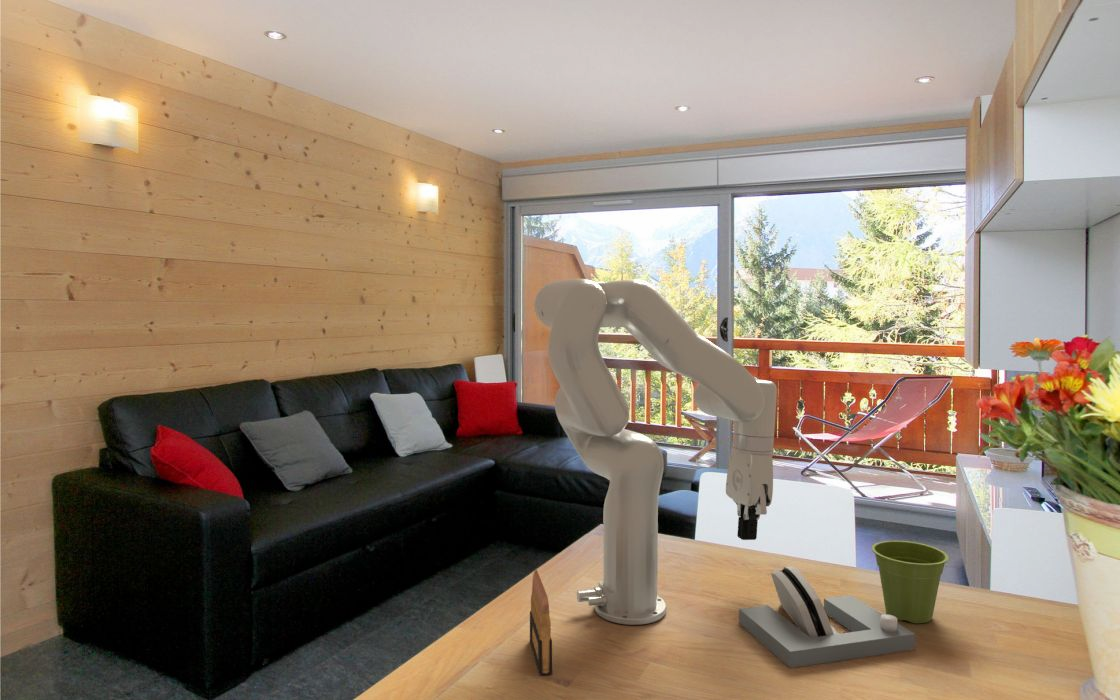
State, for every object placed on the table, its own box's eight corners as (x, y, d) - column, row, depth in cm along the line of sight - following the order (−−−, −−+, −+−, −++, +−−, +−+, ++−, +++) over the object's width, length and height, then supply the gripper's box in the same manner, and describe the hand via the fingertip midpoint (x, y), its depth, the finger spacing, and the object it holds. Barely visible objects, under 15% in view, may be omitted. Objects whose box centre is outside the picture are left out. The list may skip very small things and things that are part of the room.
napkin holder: (552, 675, 98) (552, 594, 97) (539, 676, 98) (539, 595, 97) (541, 640, 109) (540, 566, 108) (529, 641, 108) (529, 567, 108)
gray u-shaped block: (790, 668, 100) (790, 639, 100) (738, 623, 114) (739, 598, 114) (914, 649, 105) (915, 622, 105) (850, 608, 120) (851, 585, 120)
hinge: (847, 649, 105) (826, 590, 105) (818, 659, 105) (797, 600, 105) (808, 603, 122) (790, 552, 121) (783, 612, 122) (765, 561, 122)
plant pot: (891, 595, 126) (893, 535, 125) (959, 618, 116) (961, 554, 115) (856, 611, 119) (858, 548, 118) (925, 637, 109) (927, 569, 109)
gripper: (716, 437, 136) (711, 527, 136) (755, 450, 121) (749, 551, 122) (750, 437, 138) (744, 526, 138) (792, 451, 123) (786, 550, 124)
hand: (746, 538), depth 130 cm, fingers closed
